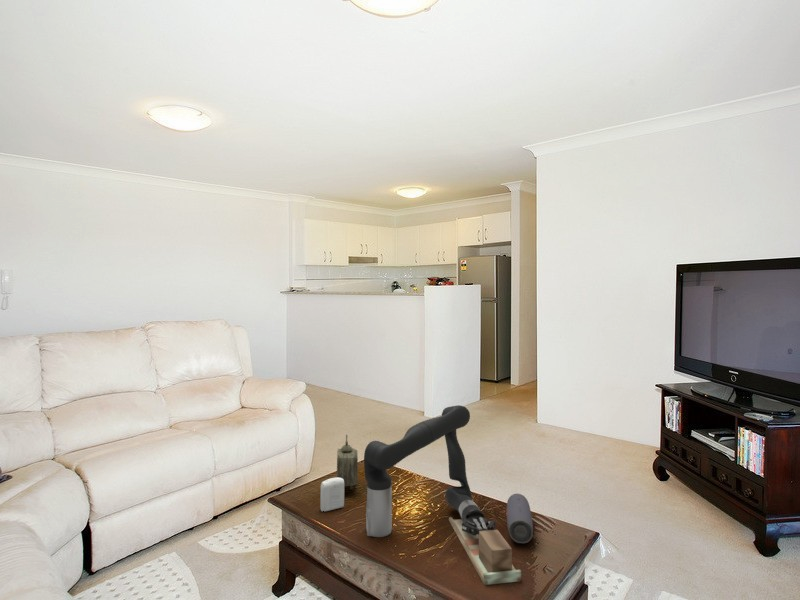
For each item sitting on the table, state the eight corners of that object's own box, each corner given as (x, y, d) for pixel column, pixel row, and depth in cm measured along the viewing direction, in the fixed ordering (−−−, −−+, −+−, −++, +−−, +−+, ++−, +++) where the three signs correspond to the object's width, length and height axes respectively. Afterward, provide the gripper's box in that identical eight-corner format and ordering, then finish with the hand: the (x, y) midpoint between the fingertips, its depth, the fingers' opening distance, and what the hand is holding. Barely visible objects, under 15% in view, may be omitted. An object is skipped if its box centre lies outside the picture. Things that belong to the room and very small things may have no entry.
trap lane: (484, 584, 141) (484, 575, 141) (448, 520, 181) (448, 512, 181) (521, 581, 143) (521, 571, 143) (477, 518, 183) (477, 510, 183)
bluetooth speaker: (505, 515, 186) (505, 491, 185) (529, 518, 184) (529, 493, 184) (506, 545, 163) (507, 517, 163) (534, 548, 161) (534, 520, 161)
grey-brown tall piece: (337, 483, 217) (337, 430, 216) (357, 483, 218) (357, 430, 217) (336, 497, 202) (337, 440, 202) (357, 496, 203) (357, 439, 203)
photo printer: (341, 503, 197) (341, 474, 197) (345, 507, 193) (345, 477, 193) (318, 509, 191) (318, 479, 191) (323, 513, 187) (323, 482, 187)
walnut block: (492, 579, 143) (492, 550, 143) (478, 557, 155) (479, 531, 155) (511, 577, 145) (511, 548, 145) (497, 556, 156) (497, 529, 156)
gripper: (454, 505, 172) (468, 528, 155) (487, 503, 174) (505, 525, 157) (454, 525, 172) (468, 551, 155) (487, 522, 174) (505, 547, 157)
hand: (487, 538), depth 156 cm, fingers closed
